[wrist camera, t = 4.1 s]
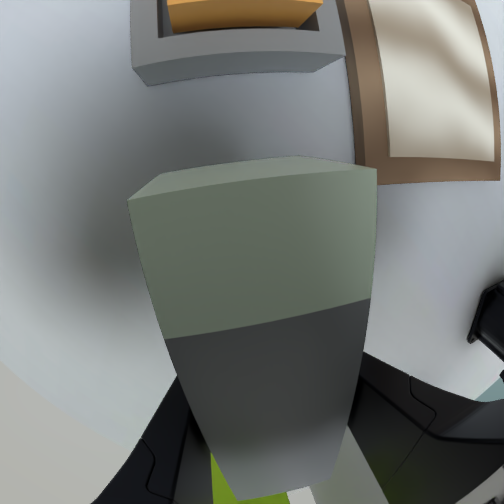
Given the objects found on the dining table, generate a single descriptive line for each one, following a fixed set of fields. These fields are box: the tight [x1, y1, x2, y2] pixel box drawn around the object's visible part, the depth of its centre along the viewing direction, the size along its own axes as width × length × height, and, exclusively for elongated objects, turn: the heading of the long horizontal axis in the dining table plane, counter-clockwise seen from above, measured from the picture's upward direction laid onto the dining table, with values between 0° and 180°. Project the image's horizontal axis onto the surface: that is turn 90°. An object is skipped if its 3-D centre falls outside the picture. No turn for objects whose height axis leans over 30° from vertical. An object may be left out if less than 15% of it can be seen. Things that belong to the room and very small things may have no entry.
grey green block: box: [127, 156, 377, 501], centre depth 8 cm, size 12×4×4 cm, turn 6°
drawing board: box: [335, 0, 501, 185], centre depth 12 cm, size 16×14×1 cm
